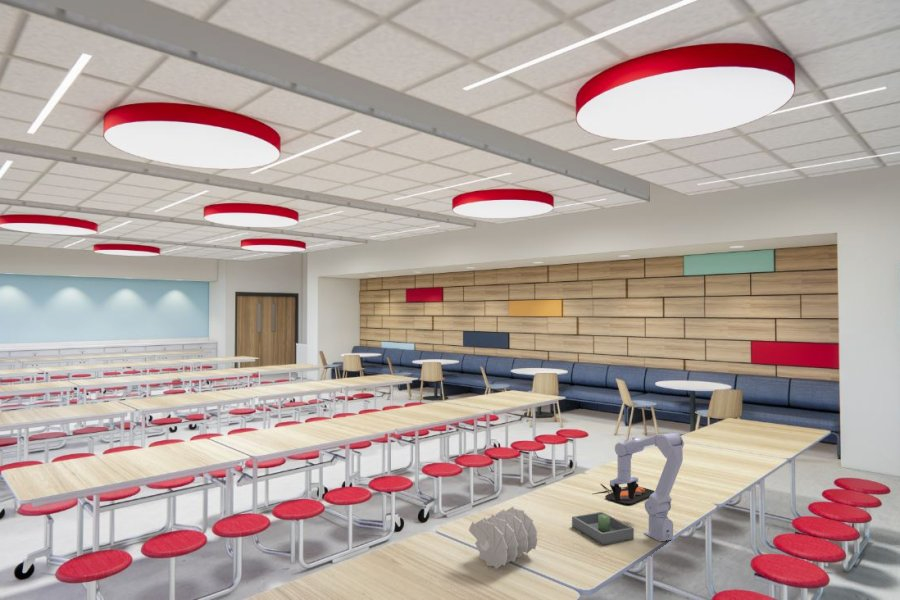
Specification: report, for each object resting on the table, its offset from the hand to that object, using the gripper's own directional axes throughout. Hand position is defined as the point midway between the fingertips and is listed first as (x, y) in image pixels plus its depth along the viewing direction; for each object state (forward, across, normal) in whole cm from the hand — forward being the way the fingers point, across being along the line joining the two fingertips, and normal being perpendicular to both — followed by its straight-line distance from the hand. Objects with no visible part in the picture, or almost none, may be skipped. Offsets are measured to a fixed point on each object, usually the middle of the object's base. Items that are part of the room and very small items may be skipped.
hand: (624, 499), depth 240 cm
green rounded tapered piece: (+8, +17, +7) cm, 20 cm away
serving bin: (+9, +18, +7) cm, 21 cm away
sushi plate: (+10, -24, -32) cm, 41 cm away
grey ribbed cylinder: (+10, +68, +13) cm, 70 cm away
